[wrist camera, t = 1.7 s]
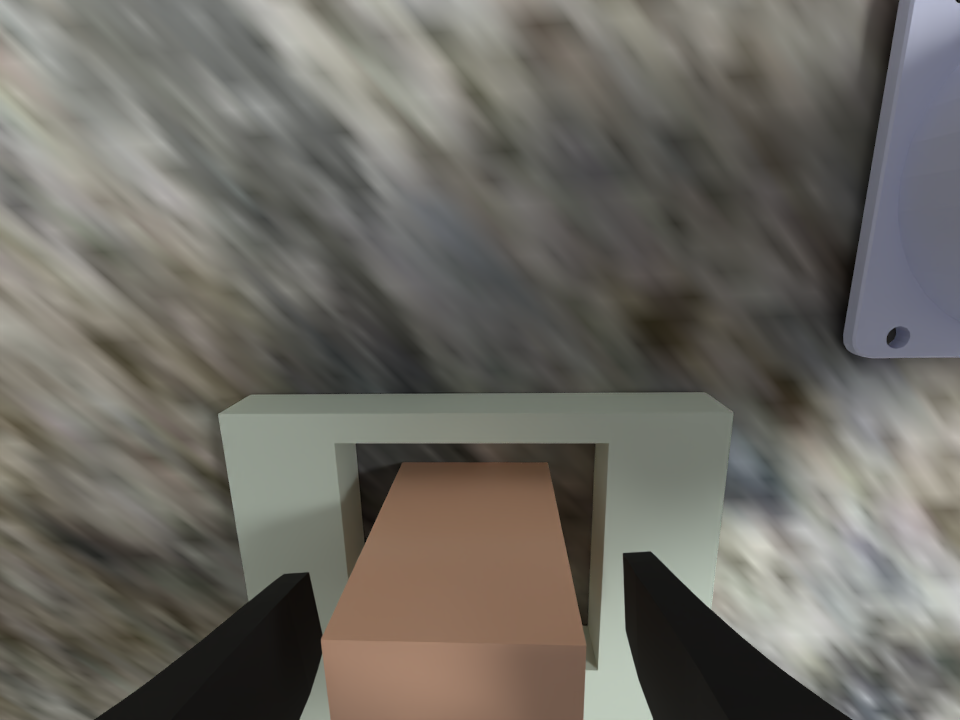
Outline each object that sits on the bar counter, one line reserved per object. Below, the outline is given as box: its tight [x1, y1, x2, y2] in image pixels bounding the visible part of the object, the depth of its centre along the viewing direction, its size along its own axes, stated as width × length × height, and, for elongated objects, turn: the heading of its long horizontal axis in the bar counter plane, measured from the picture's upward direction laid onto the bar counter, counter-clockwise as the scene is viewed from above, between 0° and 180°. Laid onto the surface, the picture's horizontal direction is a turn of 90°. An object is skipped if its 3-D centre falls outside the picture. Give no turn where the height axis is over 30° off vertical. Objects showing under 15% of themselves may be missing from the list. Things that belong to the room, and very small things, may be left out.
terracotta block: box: [321, 462, 586, 720], centre depth 10 cm, size 4×4×6 cm
